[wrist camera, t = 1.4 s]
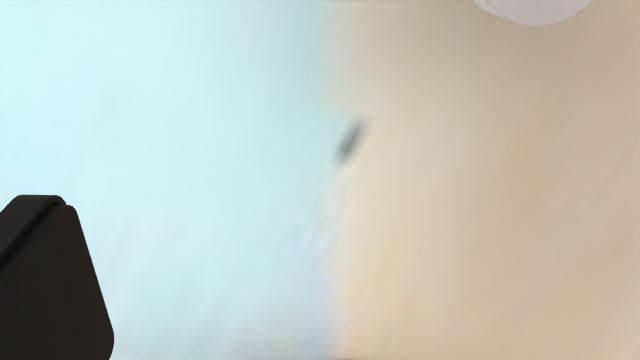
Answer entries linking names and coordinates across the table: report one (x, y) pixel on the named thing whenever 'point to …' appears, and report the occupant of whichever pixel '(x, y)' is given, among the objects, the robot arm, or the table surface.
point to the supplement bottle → (534, 10)
